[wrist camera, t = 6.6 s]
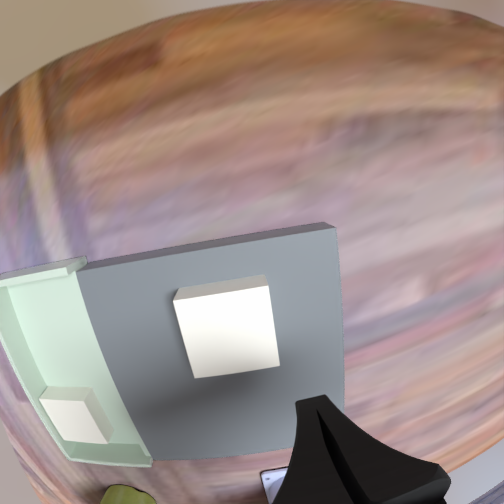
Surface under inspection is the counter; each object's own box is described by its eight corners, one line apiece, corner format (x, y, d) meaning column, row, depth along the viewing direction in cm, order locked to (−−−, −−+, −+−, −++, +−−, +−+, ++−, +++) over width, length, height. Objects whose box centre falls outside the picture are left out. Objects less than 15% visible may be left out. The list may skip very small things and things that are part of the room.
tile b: (275, 348, 19) (279, 365, 17) (197, 360, 19) (194, 378, 17) (264, 274, 18) (268, 285, 16) (178, 288, 18) (172, 300, 16)
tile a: (63, 440, 20) (70, 426, 22) (108, 444, 21) (113, 429, 22) (38, 398, 19) (48, 386, 21) (83, 401, 19) (91, 386, 21)
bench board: (335, 416, 24) (343, 435, 21) (157, 440, 23) (153, 460, 21) (323, 221, 20) (336, 227, 18) (91, 262, 20) (75, 272, 17)
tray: (156, 444, 24) (151, 467, 21) (77, 440, 23) (68, 460, 20) (85, 255, 19) (65, 267, 17) (2, 273, 19) (-20, 284, 16)
